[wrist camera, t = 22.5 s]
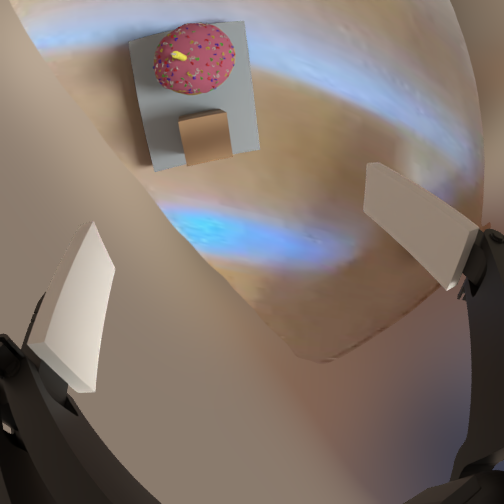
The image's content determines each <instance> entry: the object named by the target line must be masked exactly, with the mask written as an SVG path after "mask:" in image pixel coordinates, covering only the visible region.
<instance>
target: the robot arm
mask: <svg viewBox="0 0 504 504" xmlns="http://www.w3.org/2000/svg"><path fill="white" fill-rule="evenodd" d="M363 212H364V213H366V214H367V215H368V216H369V217H370V218H372V219H373V220H374V221H375V222H376V223H377V224H378V225H380V226H381V227H382V228H383V229H384V230H385V231H386V232H387V233H389V234H390V235H391V236H392V237H393V238H394V239H395V240H396V241H397V242H398V243H399V244H401V245H402V246H403V247H404V248H405V249H406V250H407V251H408V252H409V253H410V254H411V255H412V256H413V257H414V258H415V259H416V260H417V261H418V262H419V263H420V264H421V265H422V266H423V267H424V268H425V269H426V270H427V271H428V272H429V273H430V274H431V275H432V276H433V277H434V278H435V279H436V280H437V281H438V282H439V283H440V284H441V285H442V286H443V287H444V289H445V290H446V291H447V290H449V289H450V288H452V287H454V286H456V285H457V284H458V282H459V279H460V277H461V275H462V273H463V274H464V275H465V276H466V279H465V281H464V283H463V286H462V288H461V290H460V292H459V294H458V298H457V299H460V297H461V295H462V294H463V293H465V295H464V297H463V300H465V301H466V302H467V309H468V317H469V326H470V338H471V360H472V384H471V387H472V388H471V405H470V418H469V427H468V434H467V438H466V440H465V442H464V443H463V445H462V446H461V448H460V449H459V451H458V453H457V455H456V458H455V461H454V466H453V470H452V474H451V478H450V482H448V483H446V484H443V485H439V486H435V487H431V488H427V489H426V490H424V491H423V492H421V493H420V494H418V495H417V496H415V497H413V498H412V499H410V500H408V501H407V502H405V503H404V504H504V471H500V470H492V469H493V468H494V466H495V465H496V464H497V463H499V462H500V461H503V460H504V235H503V234H501V233H500V232H498V231H496V230H493V229H486V230H485V231H484V233H483V232H482V231H481V230H480V229H479V227H478V226H477V225H476V224H474V223H473V222H472V221H470V220H469V219H468V218H466V217H465V216H464V215H462V214H461V213H460V212H458V211H457V210H455V209H454V208H453V207H451V206H450V205H448V204H447V203H445V202H444V201H442V200H441V199H439V198H438V197H436V196H435V195H433V194H432V193H430V192H429V191H427V190H426V189H424V188H422V187H421V186H419V185H418V184H416V183H414V182H413V181H411V180H409V179H408V178H406V177H404V176H402V175H401V174H399V173H397V172H396V171H394V170H392V169H390V168H388V167H386V166H385V165H383V164H381V163H379V162H375V163H367V170H366V185H365V197H364V207H363ZM114 272H115V267H114V265H113V263H112V261H111V259H110V257H109V255H108V252H107V250H106V248H105V246H104V244H103V241H102V239H101V237H100V235H99V232H98V230H97V228H96V225H95V223H94V221H91V222H88V223H85V224H82V225H80V226H79V228H78V229H77V231H76V233H75V235H74V236H73V238H72V240H71V242H70V244H69V246H68V248H67V249H66V251H65V253H64V255H63V257H62V259H61V261H60V263H59V265H58V267H57V269H56V272H55V274H54V276H53V278H52V280H51V282H50V285H49V287H48V289H47V291H46V292H45V293H44V295H43V296H42V297H41V299H40V300H39V302H38V304H37V306H36V309H35V311H34V314H33V316H32V319H31V323H30V324H29V327H28V330H27V333H26V336H25V339H24V342H23V345H22V348H21V350H20V349H19V348H18V346H17V345H16V344H15V343H14V342H13V341H12V340H11V339H10V338H9V337H8V335H6V334H0V504H161V503H160V502H159V501H158V500H157V499H156V498H155V497H153V495H151V494H150V493H149V492H148V491H147V490H146V489H145V488H144V487H143V486H142V485H141V484H140V483H139V482H138V481H137V480H136V479H135V478H134V477H133V476H132V475H131V474H130V473H129V472H128V470H127V469H126V468H125V467H124V466H123V465H122V464H121V463H120V462H119V460H118V459H117V458H116V457H115V456H114V455H113V454H112V452H111V451H110V450H109V449H108V447H107V446H106V445H105V444H104V442H103V441H102V440H101V439H100V437H99V436H98V435H97V433H96V432H95V431H94V429H93V428H92V427H91V425H90V424H89V422H88V421H87V420H86V418H85V417H84V415H83V414H82V412H81V411H80V409H79V408H78V406H77V405H76V403H75V401H74V400H73V398H72V397H71V396H70V395H69V394H68V393H67V388H68V385H69V386H70V387H72V388H73V389H74V390H75V391H76V392H78V393H86V392H95V388H96V376H97V367H98V359H99V351H100V344H101V337H102V331H103V325H104V319H105V314H106V309H107V304H108V299H109V294H110V290H111V285H112V280H113V276H114ZM2 422H3V423H4V424H6V425H8V426H9V427H10V428H11V434H10V433H8V432H6V431H5V430H3V425H2Z"/></svg>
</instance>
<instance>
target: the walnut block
mask: <svg viewBox="0 0 504 504" xmlns="http://www.w3.org/2000/svg"><path fill="white" fill-rule="evenodd" d="M178 124H179V129H180V134H181V140H182V145H183V149H184V154H185V159H186V164H187V166H191V165H196V164H200V163H205V162H209V161H214V160H219V159H224V158H229V157H233V153H232V146H231V139H230V132H229V125H228V118H227V112H225V111H223V110H221V109H213V110H208V111H203V112H197V113H193V114H188V115H183V116H179V119H178Z"/></svg>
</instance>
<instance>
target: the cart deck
mask: <svg viewBox="0 0 504 504" xmlns="http://www.w3.org/2000/svg"><path fill="white" fill-rule="evenodd" d="M210 25H214V26H216V27H218V28H219V29H220V30H222V31H223V32H224V33H225V34H226V35H227V36H228V38H229V39H230V41H231V43H232V44H233V46H234V49H235V64H234V67H233V69H232V71H231V73H230V75H229V77H228V78H227V79H226V80H225V81H224V82H223V83H222V84H221V85H220V86H218V87H217V88H216V89H215V90H212V91H209V92H207V93H202V94H198V95H185V94H181V93H177V92H175V91H173V90H171V89H166V88H164V87H163V86H162V85H161V84H160V83H159V82H158V81H157V78H156V76H155V71H154V69H153V66H154V55H155V51H156V49H157V46H158V45H159V43H160V41H161V40H162V39H163V38H164V36H165V35H167V34H169V33H170V32H172V31H174V30H172V31H167V32H163V33H158V34H154V35H150V36H147V37H143V38H139V39H136V40H133V41H129V42H128V43H129V50H130V57H131V63H132V69H133V75H134V81H135V86H136V92H137V97H138V102H139V107H140V112H141V117H142V121H143V126H144V130H145V135H146V139H147V143H148V147H149V151H150V156H151V160H152V164H153V167H154V171H155V172H157V171H161V170H165V169H169V168H173V167H177V166H181V165H185V164H186V159H185V154H184V149H183V145H182V140H181V134H180V129H179V124H178V119H179V116H183V115H188V114H193V113H197V112H203V111H208V110H213V109H221V110H223V111H225V112H227V118H228V125H229V132H230V139H231V146H232V153H233V154H237V153H243V152H249V151H254V150H260V145H259V136H258V127H257V119H256V110H255V102H254V93H253V85H252V77H251V69H250V61H249V53H248V46H247V38H246V31H245V24H244V21H234V22H223V23H214V24H210Z"/></svg>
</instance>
